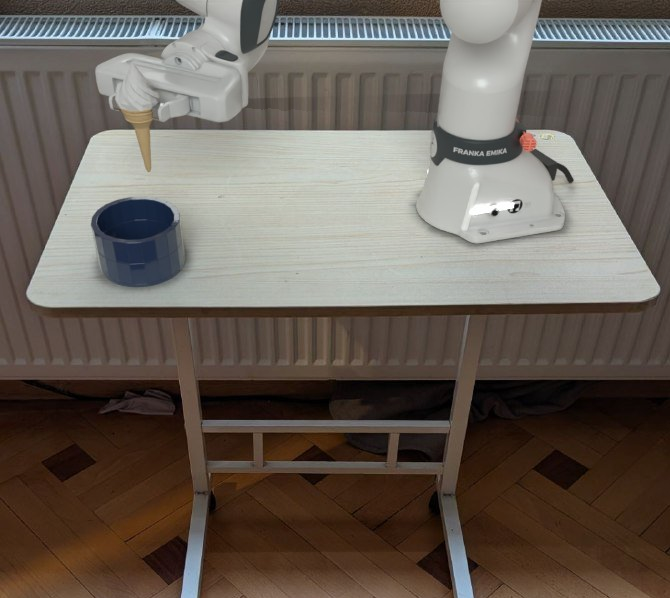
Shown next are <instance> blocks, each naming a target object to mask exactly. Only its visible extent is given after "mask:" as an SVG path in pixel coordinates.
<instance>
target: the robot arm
mask: <svg viewBox="0 0 670 598" xmlns="http://www.w3.org/2000/svg"><path fill="white" fill-rule="evenodd" d="M168 1H169V2H172V3H174V4H177V5H179V6H182V7H184V8H186V9H188V10H190V11H192V12H194V14H197V15H199V16H200V17H202V18H204V22H203V23H202V24H201V25H199V26H198V28H197V29H194V30H191V31H188V32H187V33H185V34H184V35H182V36H181V37H179V38H177V39H176V40H174V41H173V42H171V43H169V44H167V46H165V48H164V49H163V50H162V52H161V54H160V58H159V57H155V56H150V55H147V54H142V53H136V52H127V53H123V54H119V55H117V56H114V57H112V58H109V59H108V60H106V61H102V62H101V63H99V64H97V66H96V67H95V68H94V69H95V70H94V75H95V83H96V87H97V90H98V92H99V94H100V95H103V96H107V97H108V104H109V108H110V110H113V111H117V112H122V111H121V109H119V107H118V105H117V103H116V100H115V96H116V93H117V92H118V90H119V88H120V86H121V84H122V82H123V80H124V78H125V77H126V75H127V73H128V71H129V68H130V65H131V62H132V61H133V62H134V64H135V65H136V67H137V68H138V70H139V71H140V72H141V73H142V74H143V76H144V77H145V79H147V80H148V81H149V82H150V83H151V84H152V86H153V87H154V89H153V91H155V92H157V93H160V94H159V102H158V103H157V104H156V105H155V106H153V107H152V114H153V115H152V118H153V120H154V121H158V122H162V123H165V122H167V121H168V120H170V119H173V118H177V117H183V116H190V117H194V118H198V119H202V120H206V121H209V122H210V121H211V122H214V123H225V122H226V123H227V122H229V121H231V120H232V119H233V118H235V117H236V116H237V115H238V114H240V112H241V111H242V109H244V108H246V107H247V106H248V105H249V93H250V91H249V87H250V86H249V75H248V74H249V72H250V71H251V70H253V68H254V67H255V66H256V65H257V64H258V63H259V62H260V60H261V59H262V57H264V55H265V54H266V51H267V49H268V46H269V44H270V37H271V33H272V31H273V29H274V27H275V24H276V20H277V17H278V12H279V7H280V0H168ZM542 2H543V0H439V10H440V15H441V17H442V20H443V22H444V24H445V25H446V27H447V28H448V30H450V32H451V33H450V37H449V42H448V46H447V49H446V54H445V56H444V60H443V64H442V72H441V79H440V80H441V81H440V89H439V99H438V108H437V114H436V115H435V117H434V119H433V124H432V129H431V134H430V142H429V156H430V159H429V160H430V161H429V165H428V169H427V172H426V176H425V180H424V183H423V186H422V188H421V189H422V190H421V191H420V194H419V196H418V199H417V200H416V203H415V209H416V211H417V214H418V216H419V217H420V218H421V219H422V220H423V221H424V222H426V223H427V224H429V225H430V226H432V227H434V228H436V229H438V230H440V231H443V232H447V233H450V234H453V235H456V236H458V237H460V238H462V239H463V240H465V241H466V242H469V243H472V244H484V243H490V242H496V241H501V240H508V239H514V238H519V237H526V236H532V235H537V234H538V235H539V234H544V233H549V232H555V231H560V230H562V229H563V227H564V224H565V219H566V213H565V208H564V207H563V204H562V202H561V200H560V199H559V196H557V194H556V193H555V192H554V181H555V180H556V177H557V171H558V170H559V171H560V172H562V173H563V175H564V176H565V178H566V180H567V183H569V184H572V183H574V181H575V180H574V177H573V176H572V174H571V172H570V170H569V168H568V167H566V165H564V164H562V163H559V162H557V161H556V160H554V159H552V158H551V157H549V156H548V155H547V154H545V153H544V152H542V151H541V150H539V149H537V147H536V146H537V145H538V142H537V140H536V139H535V138H534V135H533V134H532V133H530V132H527V128H526V127H525V126H524V125H523V124H522V123H521V122H520V121H519V120H518V118H517V116H518V112H519V111H518V110H519V106H520V100H521V94H522V89H523V85H524V78H525V74H526V70H527V69H526V68H527V64H528V61H529V57H530V54H531V53H530V52H531V48H532V44H533V40H534V36H535V32H536V28H537V24H538V19H539V15H540V11H541V6H542Z"/></svg>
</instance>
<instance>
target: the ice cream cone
mask: <svg viewBox="0 0 670 598" xmlns="http://www.w3.org/2000/svg"><path fill="white" fill-rule="evenodd" d="M153 89H154V87H153V86H152V84H151V83H150V82H149V81H148V80H147V79H145V77H144V76H143V74H142V73H141V72H140V71H139V70H138V68H137V67H136V65H135V64H134V62H133V61H132V62H131V65H130V68H129V71H128V73H127V75H126V77H125V78H124V80H123V82H122V84H121V86H120V88H119V90H118V92H117V93H116V96H115V100H116V103H117V105H118V107H119V109H121V111H120V112H122V114H123V116H124V119H125V120H126V121H127V122H128V123H130V124H131V126H133V128H134V133H135V136H136V140H137V144H138V147H139V150H140V153H141V158H142V160H143V165H144V168H145V170H146V172H148V173H150V172H152V150H151V149H152V148H151V128H150V126H151V123H152V122H153V120H154V119H153V118H152V115H153V114H152V107H153V106H155V105H156V104H157V103H158V102H159V94H160V93H157V92H155V91H153Z"/></svg>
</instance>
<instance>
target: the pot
mask: <svg viewBox="0 0 670 598" xmlns="http://www.w3.org/2000/svg"><path fill="white" fill-rule="evenodd" d="M90 228H91V233H92V237H93V242H94V248H95V252H96V256H97V262H98V266H99V269H100V272H101V274H102V275H103V277H104V278H105V279H107V280H108V281H109V282H112V283H114V284H117V285H119V286H123V287H130V288H144V287H151V286H155V285H159V284H162V283H165V282H167V281H169V280H171V279H173V278H174V277H176V276H177V275H178V274H180V272H181V271H182V270H183V268H184V265H185V262H186V259H185V248H184V238H183V237H184V236H183V230H182V229H183V228H182V220H181V213H180V211H179V210H178V207H177V206H176V205H174V204H172V203H171V202H169V201H168V200H165V199H161V198H159V197H153V196H145V195H142V196H140V195H139V196H128V197H124V198H119V199H115V200H113V201H111V202H108V203H106V204H104V205H102V206H101V207H100V208H98V209H97V210H96V211H95V212H94V214H93V215H92V217H91V222H90Z"/></svg>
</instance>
